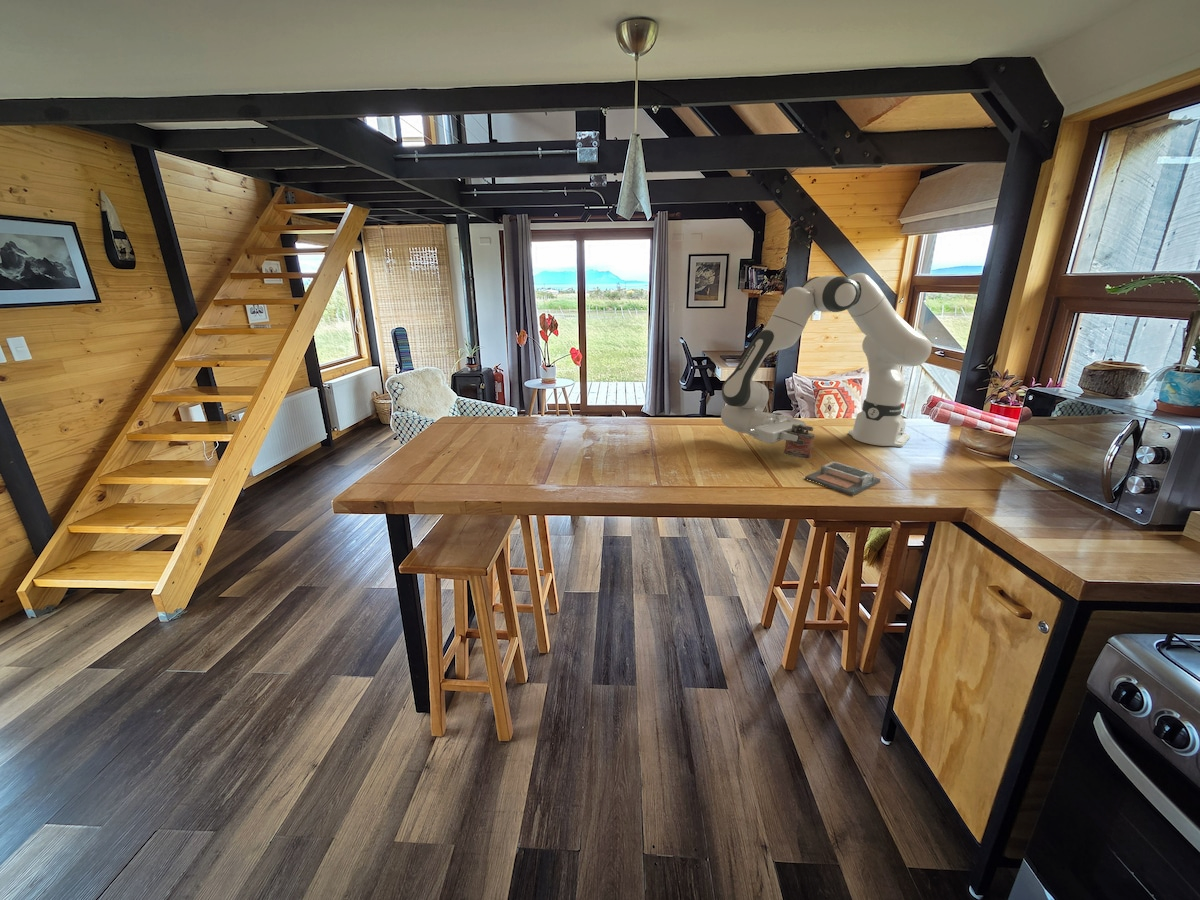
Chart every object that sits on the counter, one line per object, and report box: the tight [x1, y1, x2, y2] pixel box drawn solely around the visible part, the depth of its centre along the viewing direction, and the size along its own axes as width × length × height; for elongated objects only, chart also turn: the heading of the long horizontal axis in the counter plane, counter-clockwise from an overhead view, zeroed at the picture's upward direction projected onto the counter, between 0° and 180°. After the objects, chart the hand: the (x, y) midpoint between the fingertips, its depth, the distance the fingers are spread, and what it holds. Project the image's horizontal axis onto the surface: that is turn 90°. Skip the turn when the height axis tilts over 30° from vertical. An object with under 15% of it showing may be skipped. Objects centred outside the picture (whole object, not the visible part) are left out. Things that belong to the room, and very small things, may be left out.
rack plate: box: [804, 460, 881, 496], centre depth 139 cm, size 16×14×3 cm
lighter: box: [783, 424, 815, 459], centre depth 150 cm, size 8×3×10 cm, turn 59°
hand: (802, 437), depth 149 cm, fingers closed on lighter, 4 cm apart
